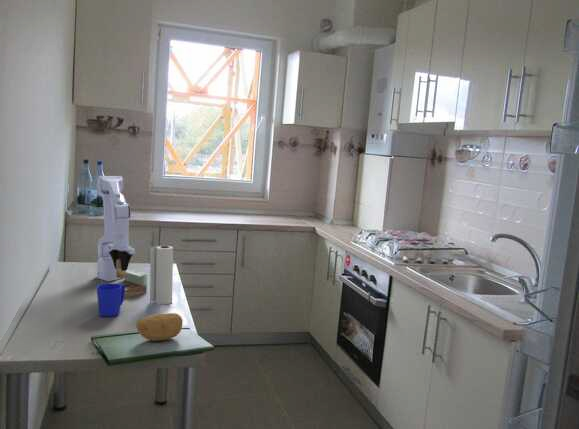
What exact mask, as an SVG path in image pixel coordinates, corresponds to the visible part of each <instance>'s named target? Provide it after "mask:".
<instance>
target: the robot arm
mask: <svg viewBox="0 0 579 429" xmlns="http://www.w3.org/2000/svg"><path fill="white" fill-rule="evenodd" d="M96 186H97V195H98V196H99V197H100V198H102V201H103V225H104V227H103V228H104V235H103V236H102V237H101V238H99V239H98V241H97V255H98V259H97V261H96V275H95V276H94V278H96V279H99V280H102V281H105V282H113V281H116V280H117V281H118V280H123V278H117V277H116V259H120V261H121V270H122V271H125V270H127V269H128V267H129V264H130V261H131V258H132V257H133V256H134V255H135V254H136V249H135V248H133V247H132V246H130V243H129V242H130V240H129V239H130V238H129V237H130V232H129V231H130V230H129V229H130V223H129V222H130V220H129V219H131V213H132V211H131V210H132V208H131V205H130V203H128V202H127V201H126V198H125V195H123V194H122V191H123V189H124V179H123V176H122V175H118V176H117V175H98V176H97V181H96Z"/></svg>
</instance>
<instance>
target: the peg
mask: <svg viewBox="0 0 579 429" xmlns="http://www.w3.org/2000/svg"><path fill="white" fill-rule="evenodd" d="M116 277H117V278H122V279H124V278H125V277H126V270H125V271H122V270H121V261H120V259H116Z"/></svg>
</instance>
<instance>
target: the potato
mask: <svg viewBox="0 0 579 429" xmlns="http://www.w3.org/2000/svg"><path fill="white" fill-rule="evenodd" d="M183 321H184V320H183V318H182V316H181V315H180V314H178V313H176V312H175V313H174V312H171V313H156V314H152V315H147V316H144V317H141V318H140V319H138V321H136V325H135V327H136V330H137V332H138V334H140V335H141V337H143V338H144V339H146V340H148V341H150V340H153V341H152V342H161V341H160V340H163V341H167V340H170V339H173V338H175V337H177V336H178V335H180V333H181V331H182V328H183ZM157 340H159V341H157Z"/></svg>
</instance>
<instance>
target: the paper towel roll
mask: <svg viewBox="0 0 579 429" xmlns="http://www.w3.org/2000/svg"><path fill="white" fill-rule="evenodd" d="M173 265H174V247H173V246H171V245H160V246H159V245H157V246H151V247H150V266H149V267H150V268H149V273H150V274H149V276H150V277H149V278H150V280H149V302H150V303H153V302H155V303H156V304H158V305H170V304H172V303H173V283H174V282H173V276H174V275H173V273H174V272H173V271H174V270H173V269H174V268H173V267H174V266H173Z"/></svg>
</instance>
